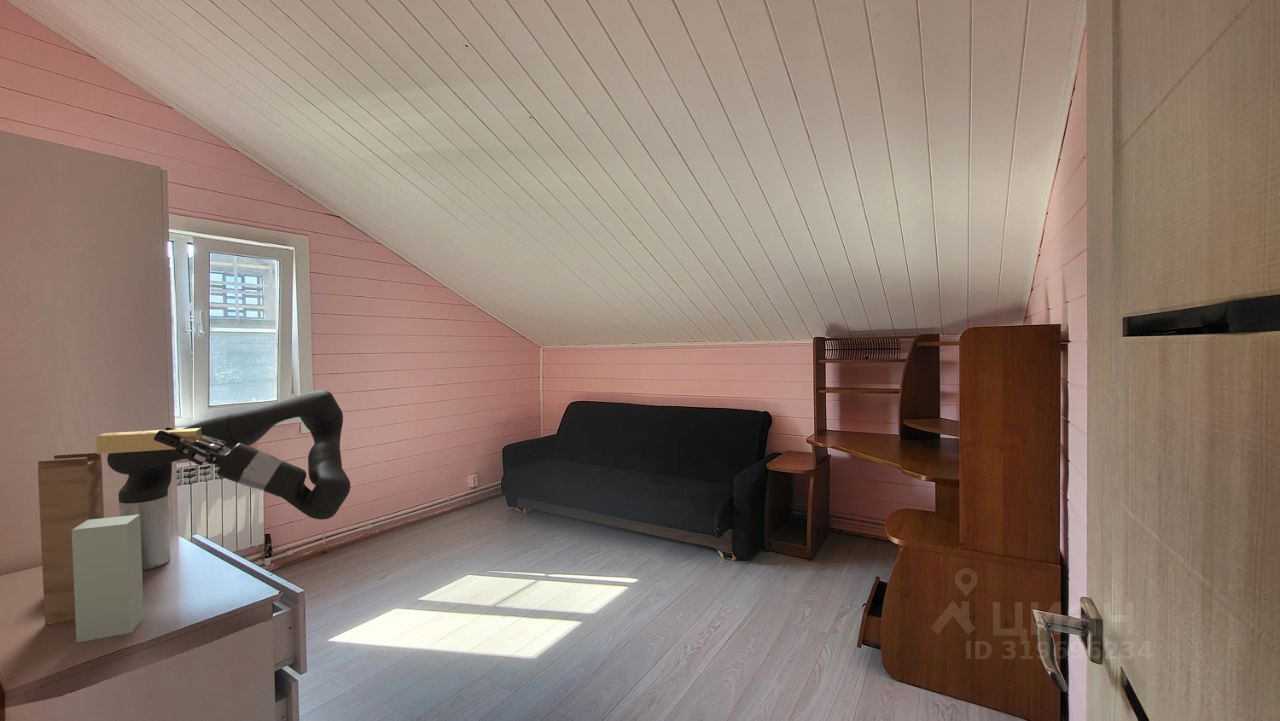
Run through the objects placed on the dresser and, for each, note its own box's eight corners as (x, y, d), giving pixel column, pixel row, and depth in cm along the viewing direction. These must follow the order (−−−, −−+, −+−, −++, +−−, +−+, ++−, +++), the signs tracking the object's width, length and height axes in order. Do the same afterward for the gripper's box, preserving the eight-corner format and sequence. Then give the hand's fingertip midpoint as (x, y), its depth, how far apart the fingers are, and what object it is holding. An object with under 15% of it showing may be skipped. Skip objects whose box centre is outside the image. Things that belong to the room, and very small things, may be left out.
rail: (105, 450, 106) (104, 433, 106) (201, 444, 113) (201, 427, 112) (96, 454, 103) (96, 436, 103) (196, 447, 109) (195, 430, 109)
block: (92, 627, 107) (87, 519, 106) (143, 618, 111) (139, 514, 110) (76, 642, 102) (71, 529, 101) (131, 633, 105) (127, 523, 104)
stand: (64, 608, 114) (57, 454, 113) (107, 601, 117) (101, 451, 116) (45, 624, 108) (37, 461, 106) (91, 617, 111) (84, 458, 109)
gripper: (267, 445, 122) (183, 411, 115) (253, 458, 109) (158, 421, 102) (248, 474, 121) (162, 442, 114) (231, 492, 108) (134, 456, 101)
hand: (161, 432), depth 108 cm, fingers closed on rail, 3 cm apart
